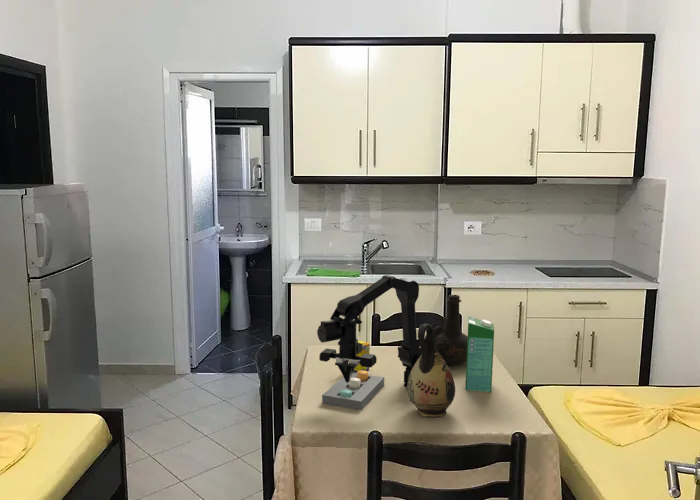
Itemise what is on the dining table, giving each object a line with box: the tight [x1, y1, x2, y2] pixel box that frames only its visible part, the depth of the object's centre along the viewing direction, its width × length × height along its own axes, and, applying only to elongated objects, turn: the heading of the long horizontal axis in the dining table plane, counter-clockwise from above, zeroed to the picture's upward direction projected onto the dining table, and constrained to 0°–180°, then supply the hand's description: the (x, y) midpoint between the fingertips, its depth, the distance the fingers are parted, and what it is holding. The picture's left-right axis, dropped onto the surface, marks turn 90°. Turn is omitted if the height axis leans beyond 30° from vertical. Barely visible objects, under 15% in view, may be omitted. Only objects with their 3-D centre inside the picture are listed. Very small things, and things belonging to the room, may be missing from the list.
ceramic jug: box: [406, 323, 456, 418], centre depth 194 cm, size 17×15×30 cm
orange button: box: [357, 370, 369, 381], centre depth 217 cm, size 4×4×3 cm
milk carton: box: [465, 316, 495, 393], centre depth 217 cm, size 9×9×25 cm
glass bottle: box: [435, 294, 468, 367], centre depth 242 cm, size 18×18×28 cm
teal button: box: [340, 389, 352, 398], centre depth 203 cm, size 4×4×3 cm
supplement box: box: [353, 339, 371, 373], centre depth 234 cm, size 6×6×11 cm
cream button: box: [349, 378, 360, 389], centre depth 210 cm, size 4×4×3 cm
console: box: [321, 372, 385, 411], centre depth 210 cm, size 14×24×3 cm, turn 158°
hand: (347, 382), depth 203 cm, fingers closed
